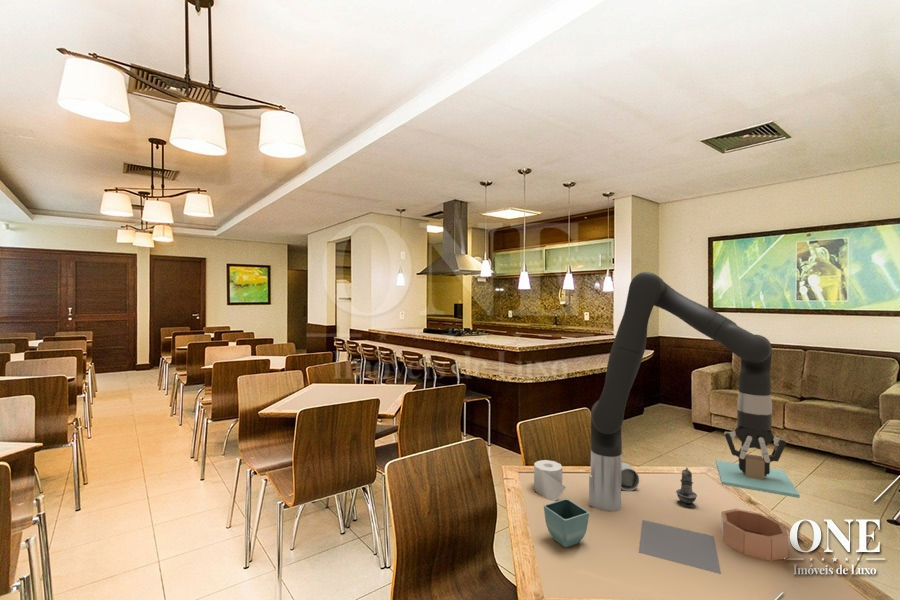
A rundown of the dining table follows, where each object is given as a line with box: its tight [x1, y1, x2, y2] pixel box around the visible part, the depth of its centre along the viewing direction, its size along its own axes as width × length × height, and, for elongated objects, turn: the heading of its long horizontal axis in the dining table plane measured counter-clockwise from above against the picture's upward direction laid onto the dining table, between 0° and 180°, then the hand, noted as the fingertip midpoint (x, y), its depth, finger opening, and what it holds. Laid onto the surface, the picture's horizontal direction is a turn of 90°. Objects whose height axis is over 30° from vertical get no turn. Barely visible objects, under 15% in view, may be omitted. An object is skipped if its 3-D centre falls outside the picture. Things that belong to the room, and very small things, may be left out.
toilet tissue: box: [533, 459, 566, 502], centre depth 144 cm, size 9×13×9 cm
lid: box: [715, 453, 801, 499], centre depth 114 cm, size 16×16×6 cm
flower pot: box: [543, 498, 590, 549], centre depth 115 cm, size 9×9×9 cm
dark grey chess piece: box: [675, 467, 698, 509], centre depth 136 cm, size 6×6×12 cm
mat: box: [638, 519, 722, 575], centre depth 114 cm, size 18×18×1 cm
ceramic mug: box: [621, 462, 640, 492], centre depth 149 cm, size 11×8×8 cm
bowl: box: [720, 508, 789, 562], centre depth 114 cm, size 14×14×6 cm
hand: (753, 473), depth 114 cm, fingers closed on lid, 4 cm apart
